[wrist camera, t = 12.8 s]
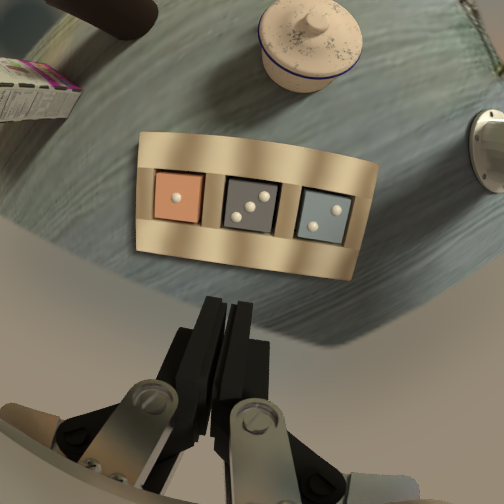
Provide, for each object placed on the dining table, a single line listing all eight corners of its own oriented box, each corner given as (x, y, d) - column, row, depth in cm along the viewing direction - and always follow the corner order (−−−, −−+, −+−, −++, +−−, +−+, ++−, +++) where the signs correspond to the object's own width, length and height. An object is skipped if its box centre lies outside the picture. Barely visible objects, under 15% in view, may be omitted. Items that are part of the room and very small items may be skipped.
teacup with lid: (341, 98, 27) (379, 78, 16) (261, 94, 27) (257, 68, 17) (334, 12, 22) (362, -35, 12) (258, 8, 23) (254, -45, 12)
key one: (206, 173, 31) (200, 177, 28) (202, 215, 33) (196, 222, 30) (165, 170, 31) (156, 173, 28) (163, 210, 33) (154, 217, 30)
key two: (343, 194, 31) (351, 200, 28) (335, 234, 33) (341, 243, 30) (302, 187, 31) (306, 191, 28) (295, 228, 33) (297, 237, 30)
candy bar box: (31, 91, 26) (-49, 91, 11) (46, 63, 25) (-33, 52, 10) (67, 121, 29) (-24, 128, 14) (85, 90, 27) (-7, 80, 12)
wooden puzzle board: (369, 161, 29) (379, 164, 27) (344, 269, 35) (350, 280, 32) (150, 132, 29) (140, 132, 27) (145, 241, 35) (136, 250, 32)
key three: (276, 182, 31) (277, 187, 28) (269, 224, 33) (270, 233, 30) (232, 176, 31) (228, 180, 28) (227, 218, 33) (223, 226, 30)
